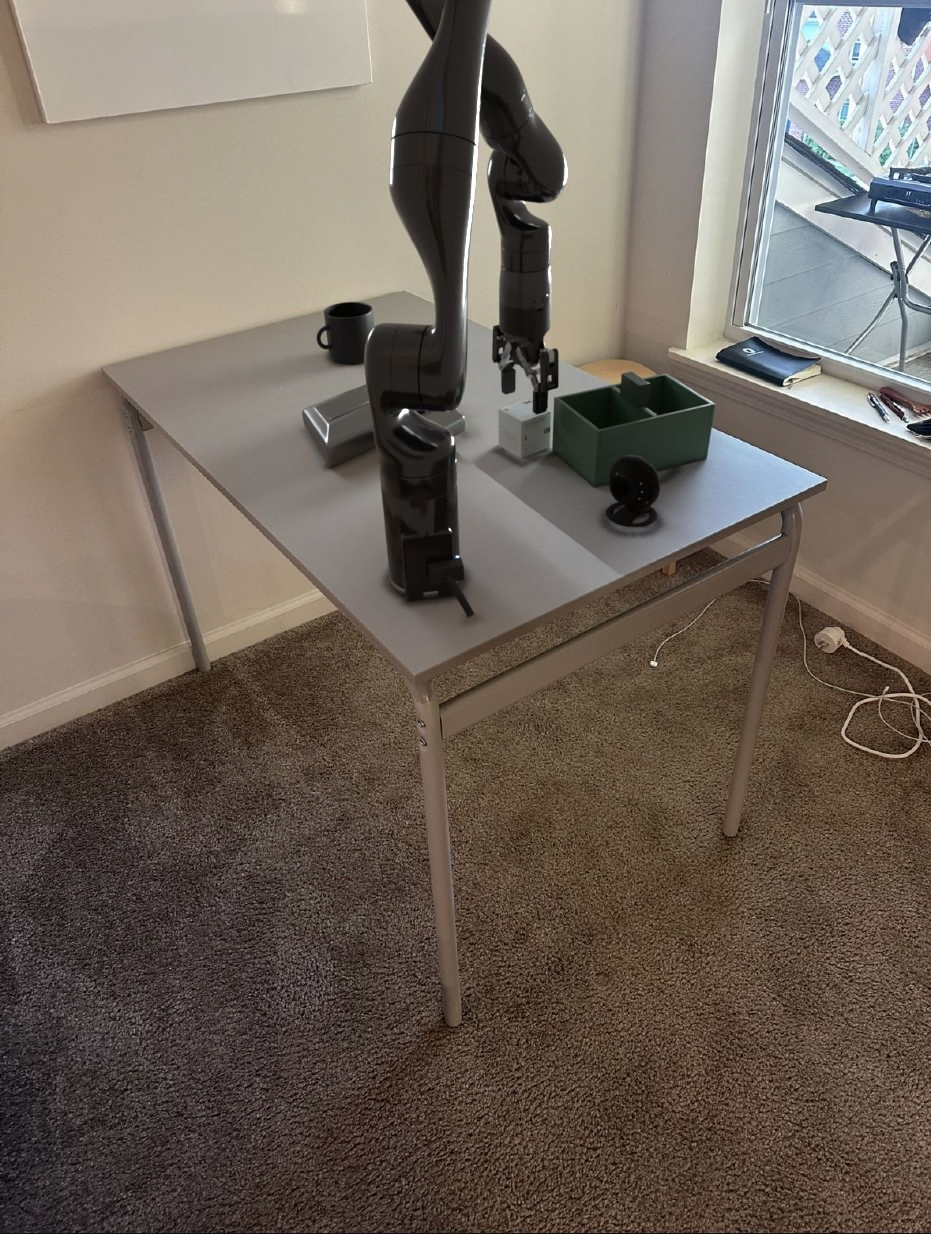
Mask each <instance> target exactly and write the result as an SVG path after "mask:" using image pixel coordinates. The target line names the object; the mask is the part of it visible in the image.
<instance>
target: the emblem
mask: <svg viewBox="0 0 931 1234" xmlns="http://www.w3.org/2000/svg"><path fill="white" fill-rule="evenodd" d="M415 411H416V412H418V413H419V414H420V415H422V416H423V417H425V418H427V419H429V420H431V421H433V422H435V423H437V424H439V425H441V426H443V427H445V428H446V429H448V430H449V431H450V432H451V433H452V435H453V437H454V436H456V435H459V434H461V433H463V432H465V431H466V418H465V415H464V414H463V413H462V411H461V410H460V409H459V407H458V408H457V409H455V410H454V411H451V412H435V411H420V410H415ZM301 414H302V422H303V425H304V427H305V429H306V431H307V433H308V434H309V435H310V438H311V439H312V441H313V442H314V444H315V446H316V447H317V449H318V451H319V453H320V454H321V456H322V458H323V460H324V461H325V463H326V464H327V466H328V467H329V468H333V467H336V466H337V465H340V464H341V463H342V464H343V463H345V462H346V461H348V460H350V459H352V458H353V459H354V458H355V457H357V456H359V455H361V454H363V453H366V452H368V451H370V450H372V449H374V448H376V446H375V440H374V432H373V424H372V417H371V411H370V405H369V399H368V393H367V386H366V384H363V385H361V386H359V387H355V388H352V389H349V390H347V391H344V392H342V393H339V394H336V395H333V396H331V397H329V398H326V399H324V400H322V401H319V402H317V403H314V404H312V405H309V406H307V407H305V408H303V409H302V412H301Z"/></svg>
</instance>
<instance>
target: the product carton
mask: <svg viewBox="0 0 931 1234" xmlns="http://www.w3.org/2000/svg"><path fill="white" fill-rule="evenodd" d="M532 410H533V400H532V401H531V400H530V399H526V400H523V401H519V402H516V403H512V404H510V405H507V406H505V407H502V408H498V411H497V412H498V414H497V417H498V418H497V419H498V420H497V421H498V424H497V425H498V427H497V428H498V430H497V431H498V436H497V438H498V439H497V440H498V445H497V446H499V447H500V448H502V449H504V450H506V451H507V452H509V453H511V454H512V455H514V456H516V457H518V458H519V459H523V458H526V457H528V456H531V455H533V454H537V453H539V452H542V451H545V450H547V449H551V425H552V424H551V423H552V411H551V410H550V409H548V408H547V410H546V412H544V413H541V414H535V413H533V411H532Z"/></svg>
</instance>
